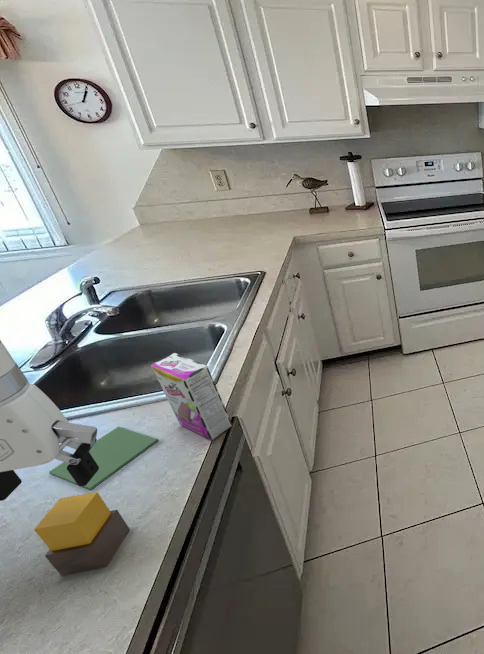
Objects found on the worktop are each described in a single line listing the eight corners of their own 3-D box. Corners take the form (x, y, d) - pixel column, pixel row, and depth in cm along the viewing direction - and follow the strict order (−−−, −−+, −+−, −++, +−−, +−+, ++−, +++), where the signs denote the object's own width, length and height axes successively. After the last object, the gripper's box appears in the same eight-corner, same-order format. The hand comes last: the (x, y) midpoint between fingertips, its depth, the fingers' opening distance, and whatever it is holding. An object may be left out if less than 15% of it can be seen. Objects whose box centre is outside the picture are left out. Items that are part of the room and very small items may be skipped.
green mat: (49, 473, 78) (48, 471, 78) (119, 428, 89) (118, 426, 88) (91, 490, 75) (89, 488, 75) (158, 440, 85) (157, 439, 85)
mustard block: (51, 551, 60) (33, 529, 58) (75, 519, 64) (59, 498, 62) (90, 543, 61) (74, 522, 59) (111, 512, 65) (97, 491, 63)
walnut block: (61, 576, 62) (44, 555, 60) (88, 537, 67) (74, 517, 65) (106, 566, 63) (91, 546, 61) (130, 529, 68) (117, 509, 66)
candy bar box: (178, 426, 89) (148, 365, 82) (201, 411, 93) (175, 351, 86) (211, 442, 84) (182, 379, 77) (234, 425, 88) (208, 364, 81)
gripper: (-142, 425, 46) (-49, 523, 53) (37, 398, 49) (102, 495, 56) (-73, 382, 53) (2, 474, 60) (81, 361, 56) (135, 452, 63)
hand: (50, 484), depth 58 cm, fingers open, 9 cm apart
